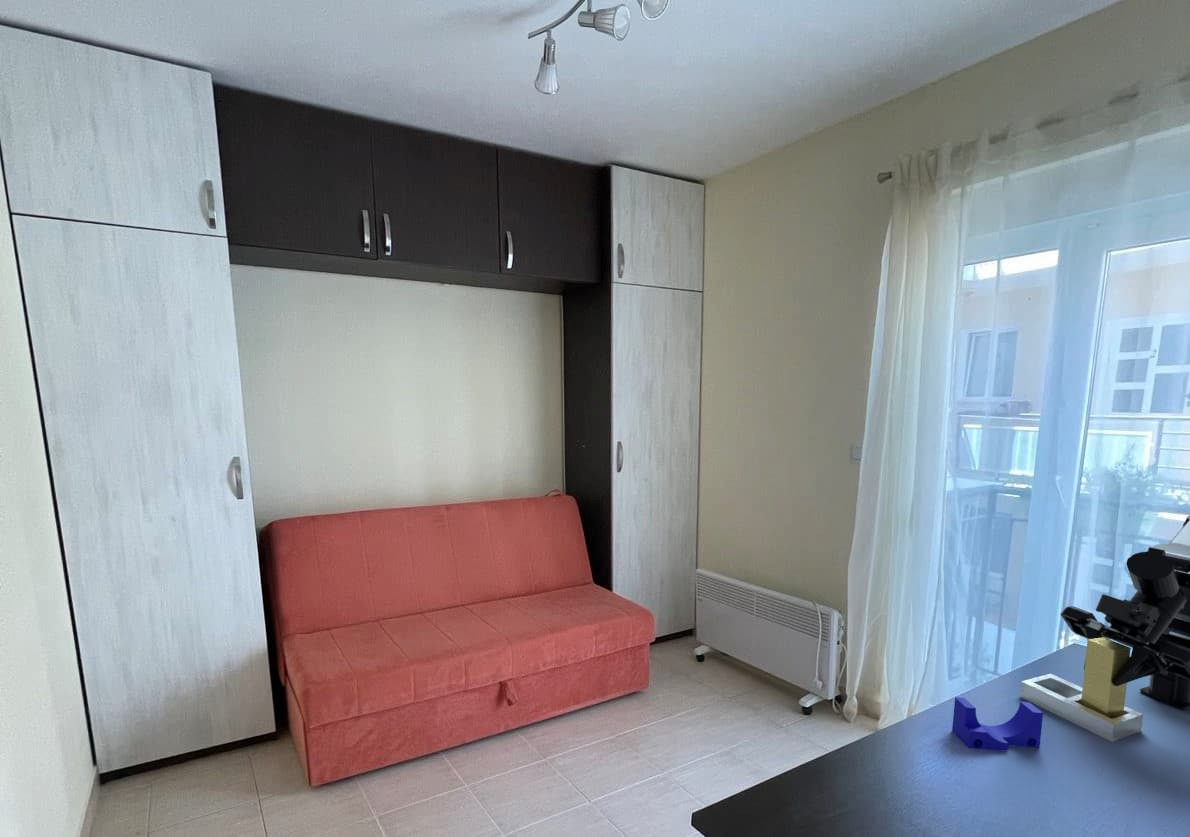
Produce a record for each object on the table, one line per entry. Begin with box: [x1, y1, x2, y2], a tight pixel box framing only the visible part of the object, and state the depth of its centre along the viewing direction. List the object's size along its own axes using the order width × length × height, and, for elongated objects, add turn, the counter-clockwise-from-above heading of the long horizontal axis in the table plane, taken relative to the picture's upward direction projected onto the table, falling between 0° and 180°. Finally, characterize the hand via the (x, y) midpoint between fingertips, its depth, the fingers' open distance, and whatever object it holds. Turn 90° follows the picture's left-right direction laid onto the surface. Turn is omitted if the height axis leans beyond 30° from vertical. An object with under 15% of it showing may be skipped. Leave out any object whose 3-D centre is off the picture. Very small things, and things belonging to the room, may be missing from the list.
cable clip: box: [951, 696, 1044, 752], centre depth 91 cm, size 12×4×6 cm, turn 87°
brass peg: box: [1081, 637, 1132, 719], centre depth 97 cm, size 4×4×13 cm
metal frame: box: [1019, 673, 1144, 743], centre depth 101 cm, size 9×14×3 cm, turn 23°
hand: (1099, 677), depth 97 cm, fingers closed on brass peg, 4 cm apart
